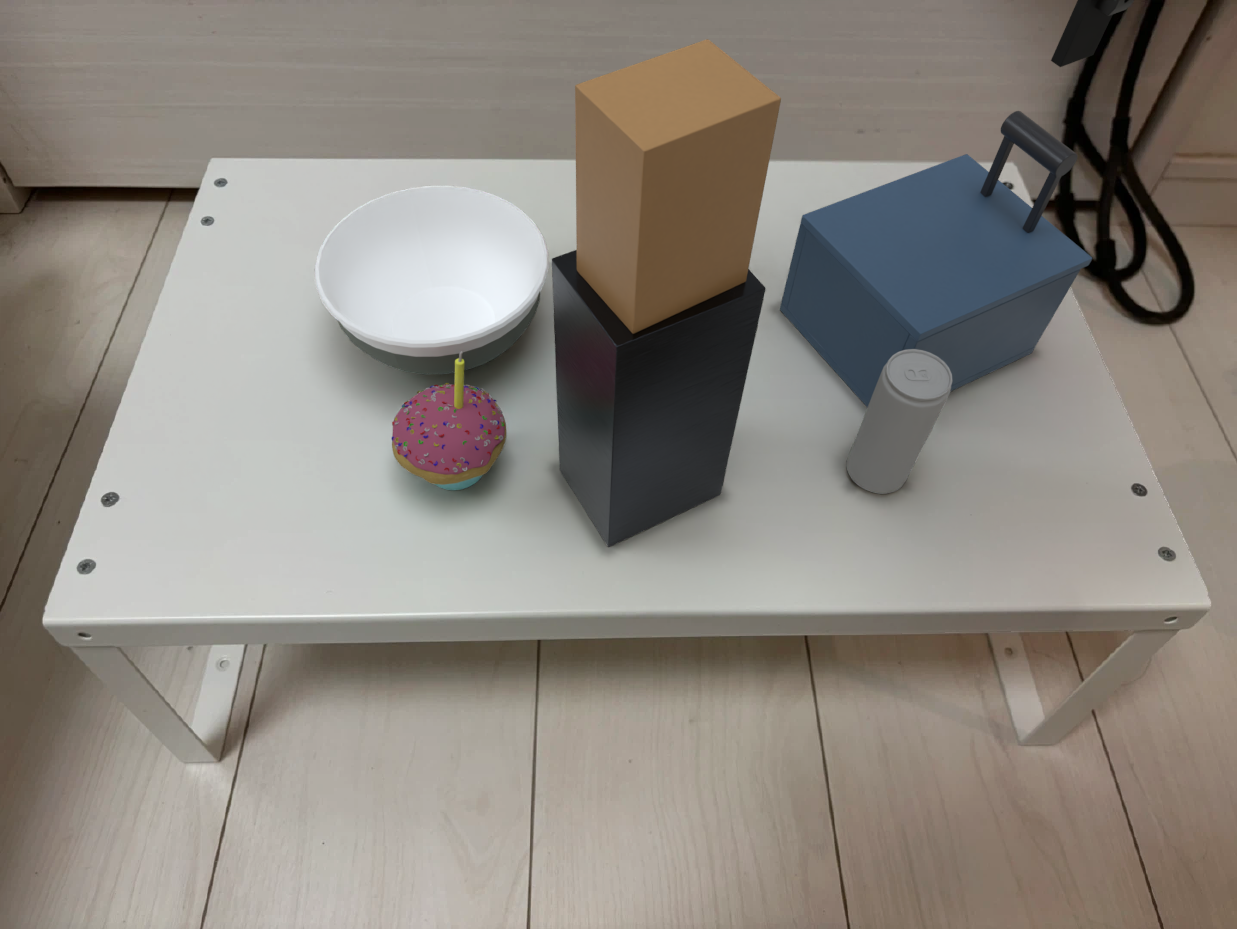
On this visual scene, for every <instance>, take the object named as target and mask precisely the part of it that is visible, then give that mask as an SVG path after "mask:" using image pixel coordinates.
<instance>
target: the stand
mask: <svg viewBox="0 0 1237 929" xmlns="http://www.w3.org/2000/svg"><path fill="white" fill-rule="evenodd" d="M551 279H552V280H551V282H552V283H551V284H552V303H553V304H552V308H553V331H554V332H553V333H554V359H555V386H556V387H555V388H556V408H557V409H556V410H557V433H558V434H557V436H558V459H559V460H558V464H559V465H558V466H559V471H560V473H561V475H562V476H563V478H564V479H565V481H566V483H568V486H569V487H570V489H571V491H572V493H573V494H574V495H575V497H576V499H577V500H578V502H579V503H580V505H581V506H582V508H583V510H584V511H585V513H586V514H587V516H588V517H589V519H590V521H591V522H592V524H593V525H594V527H595V529H596V531H597V532H598V534H599V535H600V536H601V539H602V540H603V541H604V543H605V545H606V546H607V547H608V548H610V547H612V546H614V545H616V544H619V543H621V542H623V541H625V540H627V539H630V538H631V537H634V536H635V535H638V534H640V533H642V532H644V531H646V530H648V529H651V528H653V527H655V526H657V525H659V524H662V523H663V522H666V521H667V520H670V519H672V518H675V517H676V516H678V515H680V514H683V513H685V512H687V511H689V510H691V509H693V508H695V507H698V506H699V505H702V504H704V503H706V502H708V501H711V500H713V499H715V498H716V497H719V496H721V495H722V490H723V487H724V486H723V485H724V481H725V477H726V472H727V467H728V463H729V458H730V454H731V449H732V446H733V445H732V444H733V441H734V435H735V431H736V427H737V421H738V417H739V413H740V408H741V404H742V400H743V396H744V395H743V394H744V390H745V387H746V386H745V385H746V381H747V377H748V373H749V372H748V371H749V367H750V362H751V357H752V354H753V348H754V344H755V340H756V335H757V330H758V327H759V325H758V324H759V321H760V318H761V313H762V308H763V303H764V298H765V294H766V290H767V289H766V286H765V285H764V284H763V283H762V282H761V280H759V278H758V277H757V276H756V275H755V274H754V273H753V272H752V271H751V270H750V268H748V273H747V279H746V282H744V283H742V284H740V285H738V286H735V287H733V288H731V289H729V290H727V291H725V292H723V293H720V294H718V295H716V296H714V297H712V298H710V299H708V300H705V301H703V302H701V303H699V304H697V305H695V306H692V307H690V308H688V309H686V310H684V311H682V312H680V313H677V314H675V315H673V316H671V317H669V318H667V319H664V320H662V321H660V322H658V323H656V324H654V325H652V326H649V327H647V328H645V329H643V330H641V331H639V332H636V333H634V334H633V333H632V332H631V331H630V330H629V329H628V328H627V327H626V326H625V324H624V323H623V322H622V321H621V320H620V319H619V318H618V317H617V315H616V314H615V313H614V312H613V311H612V310H611V309H610V307H609V306H608V305H607V304H606V303H605V302H604V301H603V300H602V298H601V297H600V296H599V295H598V294H597V293H596V292H595V291H594V289H593V288H592V287H591V286H590V285H589V284H588V283H587V281H586V280H585V279H584V278H583V277H582V276H581V275H580V274H579V272H578V271H577V249H574V250H572V251H569V252H566V253H564V254H560V255H557V256H555V257H552V258H551Z"/></svg>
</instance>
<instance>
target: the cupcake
mask: <svg viewBox="0 0 1237 929" xmlns="http://www.w3.org/2000/svg"><path fill="white" fill-rule="evenodd" d="M462 354H463V351H460V354H459V358H458V359H456V360H455V372H454V383H453V384H450V383H449V382H446V383H444V384H440V385H438V384H434V385H431V386H429V387H425V389H422V390H418V391H417V392H416V393H417V394H416V395H414V396H412V397H411V398H410V399H409V400H406V401H404V402H403V404H402V405H401V408H400V410H398V412H397V413H396V414H395V416H394V418H393V421H391V425H392V433H391V435H392V436H391V450H392V454H393V457H394V459H395V460H396V462H397V463H398V464H399V466H401V467H402V468H403V469H405V470H406V471H407V472H408V473H409V474H412V475H413V476H416V477H419V478H420V479H423V480H424V481H426V482H427V483H429V484H432V485H435V486H436V487H438V488H440V489H443V490H448V491H460V490H464V489H467V488H470V487H472V486H473V485H475V484H476V483H478V482H479V481H480V480H481V479H482V478H483V476H484V475H485V474H487V473H488V472H489V471H490V469H491V468H492V466H493V465H494V464H495V462H496V461H497V459H498V458H499V457H500V455H501V453H502V452H503V449H504V447H505V445H506V440H507V424H506V419H505V417H504V415H503V410H501V407H500V406H499V405H498V404H497V400H496V399H494V398H493V397H492V395H491V394H490V393H488V392H487V391H486V390H485V389H484V388H482V387H481V388H479V387H477V386H474V385H470V384H465V371H464V360H463V359H462Z"/></svg>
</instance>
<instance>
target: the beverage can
mask: <svg viewBox="0 0 1237 929" xmlns="http://www.w3.org/2000/svg"><path fill="white" fill-rule="evenodd" d="M951 385H952V374H951V371H950V369H949V367H948V366H947V365H946V363H945V362H944V361H943V360H941V359H940V358H939V357H937V356H936V355H934V354H932V353H930V352H926V351H923V350H917V349H908V350H903V351H899V352H897V353H896V354H894V355H893V356H892V357H891V358H890V359H889V360H888V362H887V363H886V365H885V366H884V367H883V370H882V372H881V375H880V377H879V380H878V382H877V385H876V387H875V390H874V392H873V395H872V397H871V400H870V402H869V405H868V407H867V406H866V410H865V413H864V416H863V418H862V421H861V422H860V425H859V428H858V429H857V433H856V436H855V438H854V440H853V443H852V446H851V448H850V450H849V453H848V456H847V459H846V466H845V467H846V471H847V473H848V475H849V477H850V479H851V480H852V481H853V482H854V483H855V484H856V485H857V486H858V487H860V488H861V489H863V490H865V491H868V492H870V493H872V494H873V493H875V494H879V495H882V494H883V495H884V494H885V495H886V494H890V493H893V492H897V491H898V490H899V489H901V488H902V487H903V486H904V484H906V481H907V480H908V478H909V476H910V474H911V472H912V470H913V468H914V466H915V464H916V462H917V460H918V458H919V456H920V454H921V452H922V450H923V448H924V446H925V444H926V442H927V441H928V438H929V436H930V434H931V432H932V431H933V428H934V426H935V424H936V422H937V420H938V418H939V417H940V414H941V412H942V410H943V409H944V406H945V405H946V402H947V400H948V399H949V397H950V395H951V394H950V393H951V391H950V390H951Z"/></svg>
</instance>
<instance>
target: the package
mask: <svg viewBox="0 0 1237 929" xmlns="http://www.w3.org/2000/svg"><path fill="white" fill-rule="evenodd" d="M781 102H782V97H780V95H778V94H777V93H776V92H775V91H773V89H771V88H769V87H768V86H767V85H766V84H765V83H763V82H762V81H761V80H760V79H758V78H757V77H756V76H754V74H753V73H751V72H750V71H749V70H747V69H746V68H745V67H743V66H742V65H741V64H740V63H738V62H737V61H736V60H735V59H733V57H731V56H730V55H728V53H726V52H724V50H722V49H721V48H720V47H718V46H717V45H716V44H715V43H714V42H712V40H710V39H708V38H707V39H703V40H701V41H698V42H695V43H692V44H690V45H686V46H683V47H680V48H678V49H675V50H672V51H669V52H666V53H663V54H660V55H657V56H654V57H652V58H649V59H645V60H643V61H640V62H637V63H634V64H631V65H628V66H625V67H623V68H620V69H618V70H614V71H611V72H608V73H606V74H603V75H600V76H597V77H594V78H590V79H588V80H585V81H583V82H579V83H576V84H575V85H574V110H575V111H574V116H575V117H574V118H575V120H574V122H575V126H574V127H575V208H576V209H575V219H576V220H575V221H576V223H575V224H576V227H575V230H576V232H575V235H576V237H575V239H576V240H575V241H576V250H577V271H578V272H579V274H580V275H581V276H582V277H583V278H584V279H585V280H586V281H587V283H588V284H589V285H590V286H591V287H592V288H593V289H594V291H595V292H596V293H597V294H598V295H599V296H600V297H601V298H602V300H603V301H604V302H605V303H606V304H607V305H608V306H609V307H610V309H611V310H612V311H613V312H614V313H615V314H616V315H617V317H618V318H619V319H620V320H621V321H622V322H623V323H624V324H625V326H626V327H627V328H628V329H629V330H630V331H631V332H632V333H633V334H634V333H636V332H639V331H641V330H643V329H645V328H647V327H649V326H652V325H654V324H656V323H658V322H660V321H662V320H664V319H667V318H669V317H671V316H673V315H675V314H677V313H680V312H682V311H684V310H686V309H688V308H690V307H692V306H695V305H697V304H699V303H701V302H703V301H705V300H708V299H710V298H712V297H714V296H716V295H718V294H720V293H723V292H725V291H727V290H729V289H731V288H733V287H735V286H738V285H740V284H742V283H744V282H746V279H747V273H748V269H750V268H749V267H750V263H751V258H752V251H753V248H754V243H755V242H754V241H755V237H756V231H757V226H758V220H759V217H760V216H759V215H760V211H761V206H762V201H763V195H764V191H765V185H766V179H767V174H768V169H769V165H770V159H771V155H772V148H773V144H774V139H775V133H776V130H777V122H778V118H779V112H780V107H781Z"/></svg>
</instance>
